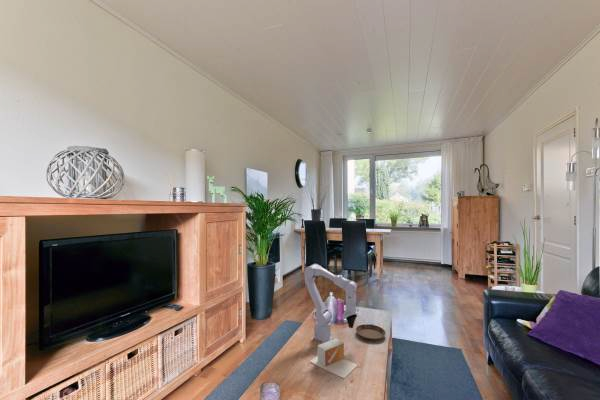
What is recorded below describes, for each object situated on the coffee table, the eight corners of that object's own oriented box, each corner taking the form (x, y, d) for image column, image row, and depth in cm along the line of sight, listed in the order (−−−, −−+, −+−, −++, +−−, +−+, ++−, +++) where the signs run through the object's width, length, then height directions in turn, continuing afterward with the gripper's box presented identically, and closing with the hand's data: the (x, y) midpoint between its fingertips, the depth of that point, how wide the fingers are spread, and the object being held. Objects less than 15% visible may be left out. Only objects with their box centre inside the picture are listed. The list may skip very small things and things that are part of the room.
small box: (344, 358, 138) (325, 367, 130) (336, 352, 143) (317, 360, 136) (344, 342, 138) (325, 350, 130) (336, 337, 143) (317, 345, 136)
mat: (310, 362, 135) (310, 361, 135) (324, 351, 145) (324, 350, 145) (343, 378, 122) (343, 378, 122) (357, 365, 132) (357, 365, 132)
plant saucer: (389, 343, 154) (389, 337, 154) (359, 343, 154) (359, 337, 154) (380, 328, 172) (380, 324, 172) (353, 328, 172) (353, 324, 172)
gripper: (350, 308, 143) (350, 334, 143) (363, 301, 154) (363, 325, 154) (339, 305, 148) (339, 330, 148) (352, 298, 159) (352, 321, 159)
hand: (350, 327), depth 151 cm, fingers closed
